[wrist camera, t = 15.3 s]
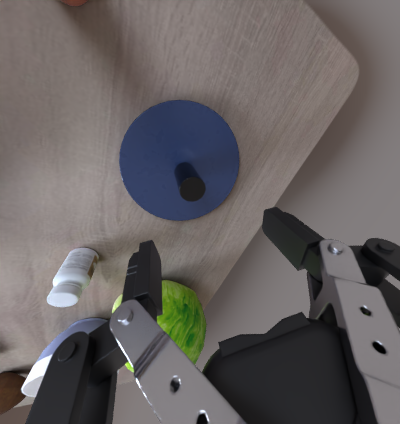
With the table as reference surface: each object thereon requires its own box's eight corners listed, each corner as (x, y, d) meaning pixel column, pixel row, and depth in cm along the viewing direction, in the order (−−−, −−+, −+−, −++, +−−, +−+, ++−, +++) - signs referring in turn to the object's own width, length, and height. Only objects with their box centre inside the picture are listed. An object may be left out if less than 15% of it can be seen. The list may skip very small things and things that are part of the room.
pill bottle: (93, 267, 29) (75, 310, 22) (65, 260, 26) (36, 307, 20) (103, 251, 27) (87, 293, 21) (75, 243, 25) (47, 287, 19)
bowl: (63, 347, 41) (40, 403, 33) (39, 317, 32) (1, 383, 25) (128, 334, 45) (122, 380, 37) (122, 304, 37) (112, 357, 29)
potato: (-13, 369, 38) (-47, 422, 31) (39, 364, 42) (18, 409, 36) (-11, 380, 41) (-42, 431, 34) (37, 374, 45) (18, 418, 39)
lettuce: (126, 256, 29) (53, 372, 21) (227, 301, 27) (191, 445, 19) (144, 269, 44) (106, 340, 36) (210, 298, 42) (186, 379, 34)
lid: (94, 113, 17) (63, 114, 11) (235, 90, 19) (270, 80, 13) (146, 227, 27) (143, 259, 21) (236, 203, 29) (257, 227, 23)
